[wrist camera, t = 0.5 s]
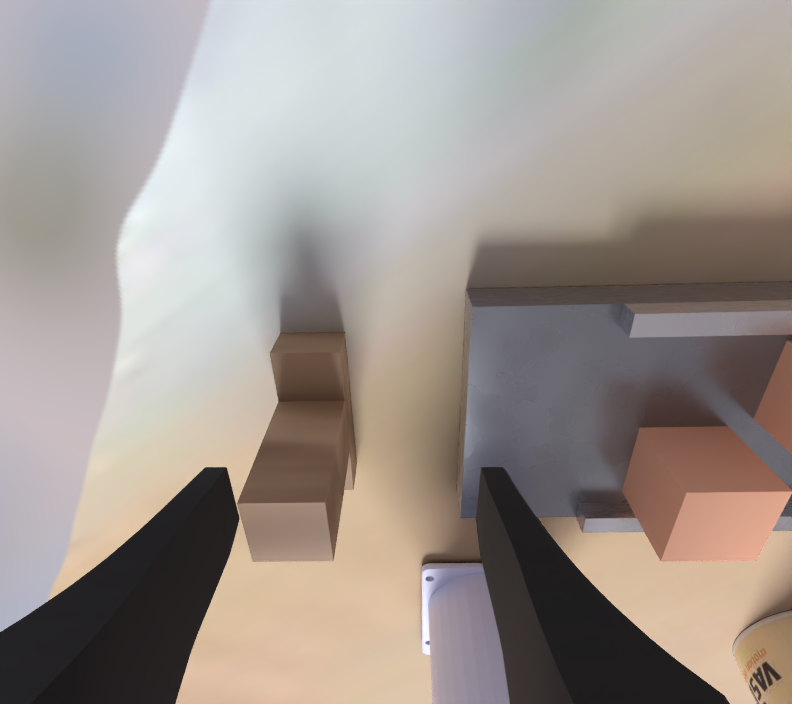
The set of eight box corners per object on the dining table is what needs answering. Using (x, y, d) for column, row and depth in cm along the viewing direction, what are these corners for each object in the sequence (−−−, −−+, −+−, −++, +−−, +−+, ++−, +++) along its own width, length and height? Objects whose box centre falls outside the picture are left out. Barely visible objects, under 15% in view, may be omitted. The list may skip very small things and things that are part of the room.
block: (702, 490, 23) (756, 560, 20) (621, 491, 23) (660, 561, 20) (728, 426, 21) (793, 491, 18) (639, 427, 21) (686, 492, 18)
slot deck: (819, 485, 25) (867, 529, 23) (456, 489, 26) (462, 533, 23) (936, 278, 20) (1018, 305, 17) (466, 288, 20) (475, 317, 18)
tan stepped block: (356, 462, 25) (339, 602, 18) (302, 463, 25) (264, 602, 18) (344, 331, 21) (317, 444, 14) (280, 332, 21) (221, 446, 14)
